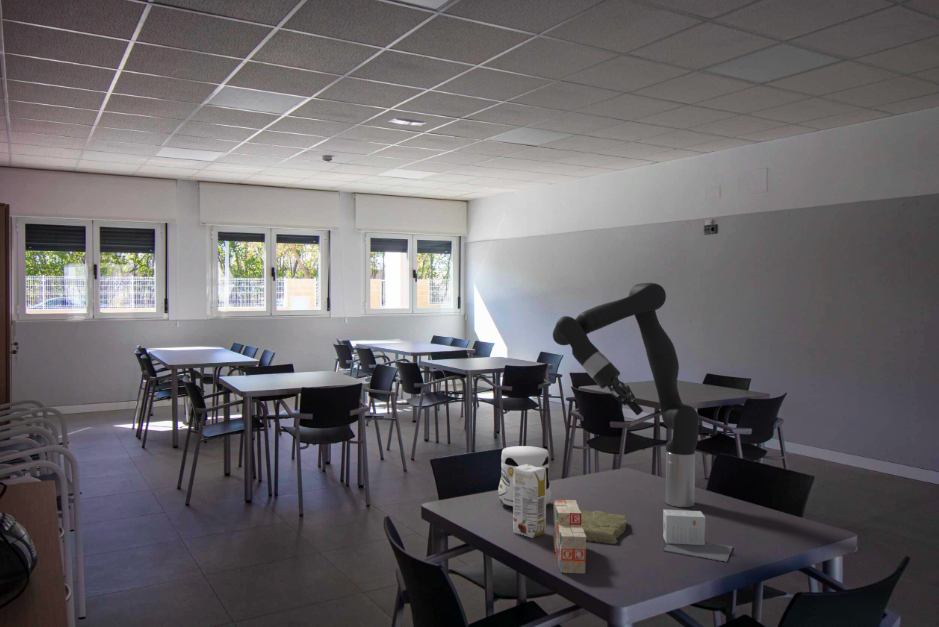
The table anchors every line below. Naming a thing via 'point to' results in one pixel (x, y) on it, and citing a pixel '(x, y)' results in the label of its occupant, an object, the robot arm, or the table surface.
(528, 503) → the juice carton
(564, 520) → the stack of blocks
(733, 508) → the table surface
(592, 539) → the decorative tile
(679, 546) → the mat
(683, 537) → the small box
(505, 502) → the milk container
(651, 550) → the table surface
